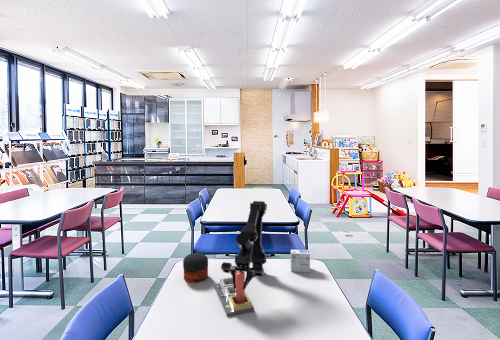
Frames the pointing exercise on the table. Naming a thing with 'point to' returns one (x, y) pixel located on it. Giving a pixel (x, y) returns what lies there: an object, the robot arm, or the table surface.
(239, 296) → the plug
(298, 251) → the light bulb box
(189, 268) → the oil filter
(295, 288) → the table surface
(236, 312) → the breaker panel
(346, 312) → the table surface
